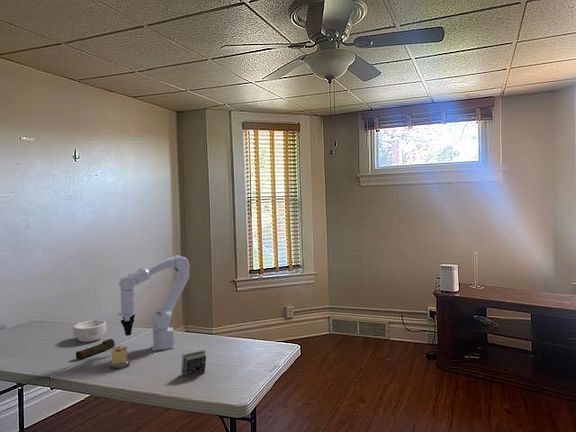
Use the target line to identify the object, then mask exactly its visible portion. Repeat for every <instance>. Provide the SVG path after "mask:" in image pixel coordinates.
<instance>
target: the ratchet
mask: <svg viewBox="0 0 576 432" xmlns="http://www.w3.org/2000/svg"><path fill="white" fill-rule="evenodd" d="M130 362H131V361H130V359H129V358H127V363H121V364H113V365H112V360H111V361H110V362H109V367H110V369H111V370H114V371H115V370H116V371H117V370H124V369H126V368H128V367H130Z"/></svg>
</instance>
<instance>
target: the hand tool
mask: <svg viewBox="0 0 576 432" xmlns="http://www.w3.org/2000/svg"><path fill="white" fill-rule="evenodd" d="M115 345H116V342H115V341H114V339H112V338H109V339H106V340H103V341H102V342H101V343H99V344H97V345H94V346H91V347H88V348H85V349H82V350H79V351H76V352H75V357H76V360H78V361H81V360H84V359H85V358H86V357H90V356H92V355H94V354H97V353H100V352H101V353H102V352H107V351H109V350H111V349H112V350H113V348H116V346H115Z"/></svg>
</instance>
